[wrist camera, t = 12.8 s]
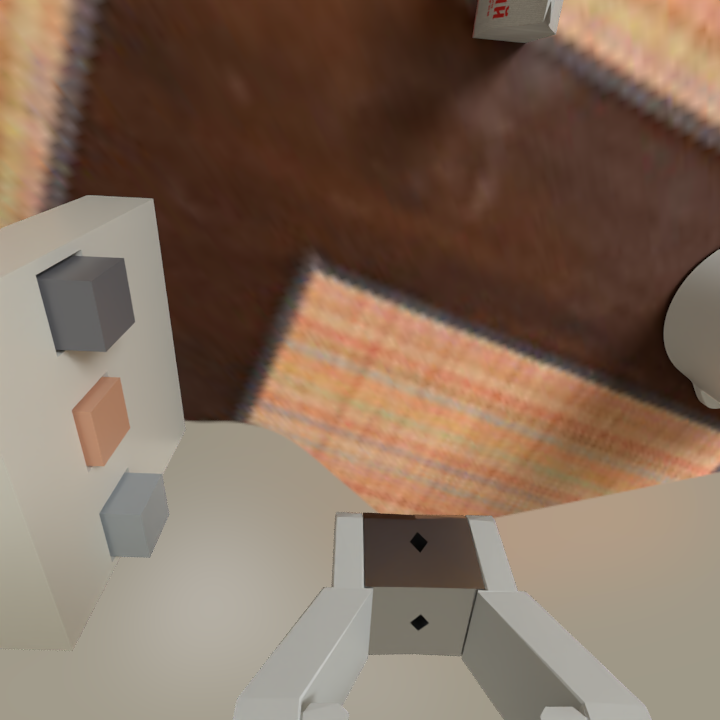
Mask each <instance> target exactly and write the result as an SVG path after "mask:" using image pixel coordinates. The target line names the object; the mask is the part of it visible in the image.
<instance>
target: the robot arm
mask: <svg viewBox="0 0 720 720" xmlns="http://www.w3.org/2000/svg"><path fill="white" fill-rule="evenodd" d="M664 344H665V349H666V352H667V354H668V357H669V359H670V360H671V362H672V363H673V365H674V366H675V367H676V368H677V369H678V370H679V371H680V372H681V373H683V374H684V375H685V376H686V377H687V378H689V379H690V381H691V382H692V383H693V386H694V390H695V393H696V395H697V398H698V400H699V401H700V402H701V403H703V404H704V405H706V406H707V407H709V408H712V409H718V408H720V249H719V250H717V251H716V252H714V253H713V254H712V255H710V256H709V257H708V258H706V259H705V260H704V261H703V262H702V263H701V264H700V265H698V266H697V267H696V268H695V269H694V270H693V271H692V273H691V274H690V275H689V276H688V277H687V278H686V280H685V281H684V282H683V283H682V285H681V286H680V288H679V289H678V291H677V292H676V294H675V296H674V298H673V300H672V302H671V304H670V306H669V309H668V312H667V315H666V319H665V324H664ZM334 530H335V531H334V549H333V570H332V587H324V588H323V589H322V590H321V591H320V592H319V594H318V595H317V596H316V598H315V599H314V600H313V602H312V603H311V604H310V606H309V607H308V608H307V609H306V611H305V612H304V613H303V614H302V616H301V617H300V618H299V620H298V621H297V622H296V623H295V625H294V626H293V627H292V629H291V630H290V631H289V632H288V634H287V635H286V636H285V638H284V639H283V640H282V641H281V643H280V644H279V646H278V647H277V648H276V649H275V651H274V652H273V653H272V654H271V656H270V657H269V658H268V660H267V661H266V662H265V663H264V665H263V666H262V668H260V670H259V671H258V672H257V674H256V675H255V676H254V677H253V679H252V680H251V681H250V683H249V684H248V686H247V687H246V688H245V689H244V691H243V692H242V693H241V694H240V696H239V697H238V698H237V702H236V706H235V711H234V717H233V720H349V713H348V712H347V711H346V710H345V709H344V708H343V707H342V705H343V703H344V701H345V700H346V698H347V696H348V694H349V692H350V691H351V689H352V687H353V685H354V683H355V681H356V679H357V677H358V676H359V674H360V672H361V670H362V668H363V666H364V664H365V662H366V661H367V659H368V655H373V654H374V655H376V654H378V655H380V654H423V655H445V656H446V655H447V656H462V660H463V662H464V663H465V664H466V666H467V667H468V669H469V670H470V672H471V673H472V675H473V676H474V677H475V679H476V680H477V681H478V683H479V685H480V686H481V688H482V689H483V690H484V692H485V693H486V695H487V696H488V698H489V699H490V700H491V702H492V703H493V705H494V706H495V708H496V709H497V711H498V712H499V713H500V715H501V716H502V718H503V719H504V720H652V719H651V717H650V714H649V712H648V710H647V708H646V706H645V705H644V704H643V703H642V702H641V701H640V700H639V699H638V698H637V697H636V696H635V695H634V694H632V693H631V692H630V691H629V690H628V689H627V688H626V687H625V686H624V685H623V684H622V683H621V682H620V681H619V680H618V679H617V678H616V677H615V676H614V675H613V674H612V673H610V671H608V669H607V668H605V667H604V666H603V665H602V664H601V663H600V662H599V661H598V660H597V659H596V658H595V657H594V656H593V655H592V654H591V653H590V652H589V651H588V650H587V649H586V648H585V647H583V645H581V644H580V643H579V642H578V641H577V640H576V639H575V638H574V637H573V636H572V635H571V634H570V633H569V632H568V631H567V630H566V629H565V628H564V627H563V626H562V625H561V624H560V623H559V622H558V621H556V620H555V619H554V618H553V617H552V616H551V615H550V614H549V613H548V612H547V611H546V610H545V609H544V608H543V607H542V606H541V605H540V604H539V603H538V602H537V601H536V600H534V598H532V597H531V596H530V595H529V594H528V593H527V592H525V591H518V590H517V587H516V584H515V581H514V578H513V574H512V571H511V568H510V565H509V562H508V559H507V556H506V553H505V549H504V546H503V543H502V540H501V537H500V534H499V531H498V528H497V525H496V521H495V519H494V518H493V517H492V516H473V515H466V516H464V515H400V514H380V513H363V516H362V513H349V512H336V516H335V529H334Z"/></svg>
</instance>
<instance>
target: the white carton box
mask: <svg viewBox="0 0 720 720" xmlns="http://www.w3.org/2000/svg"><path fill="white" fill-rule="evenodd" d="M562 4H563V0H478V3H477V10H476V16H475V22H474V28H473V35H472V38H479V39H490V40H500V41H510V42H520V43H527V42H531V41H534V40H538V39H541V38H545V37H548V36H551V35H555V34H556V31H557V26H558V22H559V17H560V13H561V9H562Z"/></svg>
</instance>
